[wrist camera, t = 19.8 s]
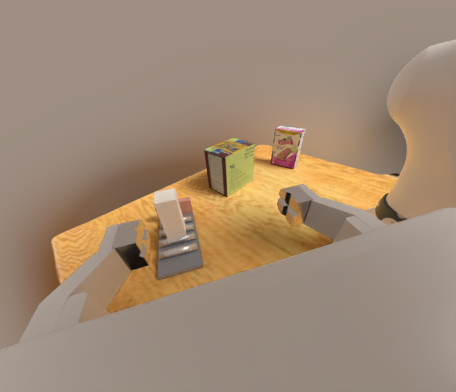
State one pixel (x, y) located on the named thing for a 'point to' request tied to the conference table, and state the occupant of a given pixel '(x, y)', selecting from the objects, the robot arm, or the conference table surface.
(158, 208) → the wooden block
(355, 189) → the conference table surface
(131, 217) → the conference table surface
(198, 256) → the roller track
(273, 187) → the conference table surface
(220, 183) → the protein box
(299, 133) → the candy bar box
